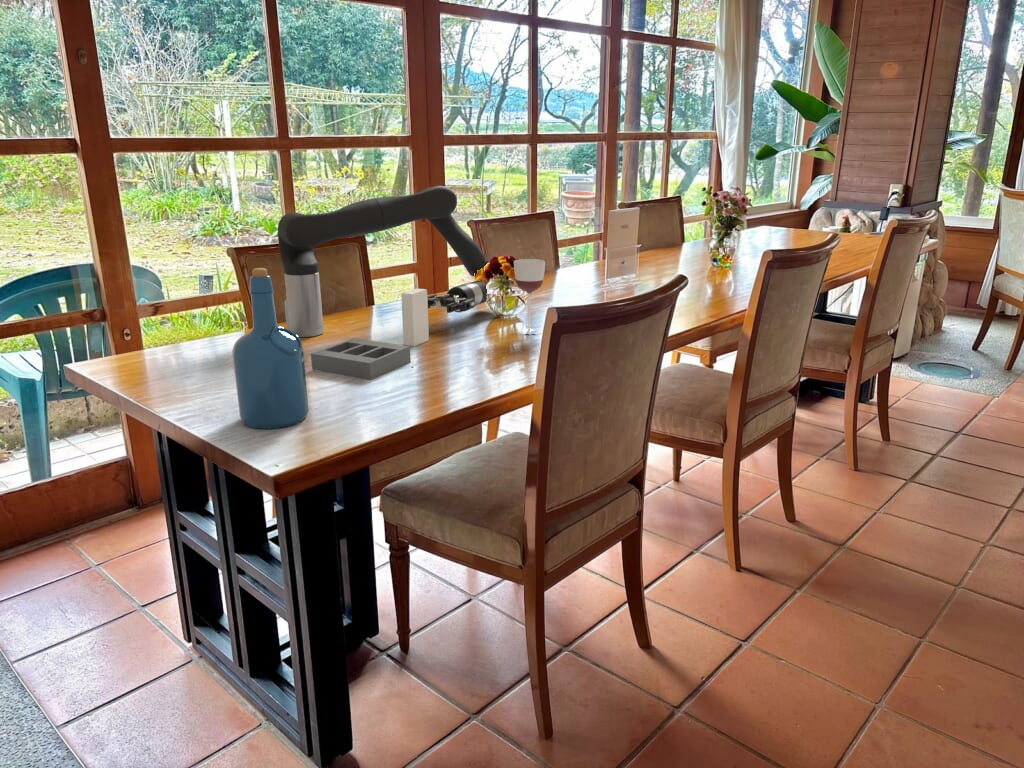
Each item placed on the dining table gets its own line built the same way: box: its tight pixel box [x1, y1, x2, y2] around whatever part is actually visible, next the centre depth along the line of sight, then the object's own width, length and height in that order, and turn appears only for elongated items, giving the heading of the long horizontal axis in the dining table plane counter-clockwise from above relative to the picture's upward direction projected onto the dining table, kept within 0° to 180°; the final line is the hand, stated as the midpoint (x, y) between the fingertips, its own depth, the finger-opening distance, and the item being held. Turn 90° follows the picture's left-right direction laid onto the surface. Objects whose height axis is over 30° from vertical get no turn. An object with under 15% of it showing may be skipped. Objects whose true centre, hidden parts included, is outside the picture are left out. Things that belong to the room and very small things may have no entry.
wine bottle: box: [231, 267, 310, 430], centre depth 150 cm, size 14×13×30 cm
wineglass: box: [513, 258, 546, 332], centre depth 217 cm, size 8×9×20 cm
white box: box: [400, 288, 430, 347], centre depth 207 cm, size 3×7×14 cm, turn 152°
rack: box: [310, 337, 412, 381], centre depth 188 cm, size 17×16×4 cm
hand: (434, 307), depth 215 cm, fingers open, 8 cm apart
